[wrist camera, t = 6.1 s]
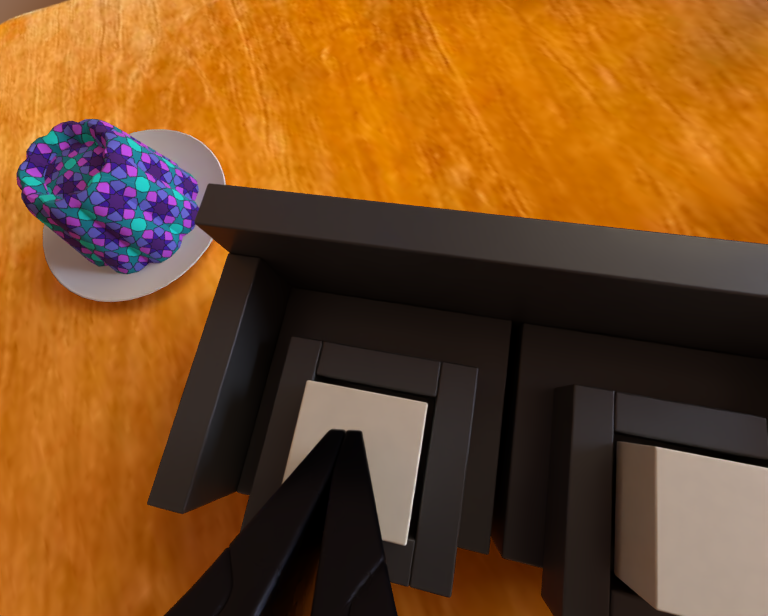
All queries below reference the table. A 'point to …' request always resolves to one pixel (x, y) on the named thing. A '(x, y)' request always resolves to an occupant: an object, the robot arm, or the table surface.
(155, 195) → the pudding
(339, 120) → the table surface
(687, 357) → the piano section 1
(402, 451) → the key
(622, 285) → the black hollow block
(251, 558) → the robot arm
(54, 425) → the table surface
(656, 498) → the key
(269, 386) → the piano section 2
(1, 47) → the table surface
